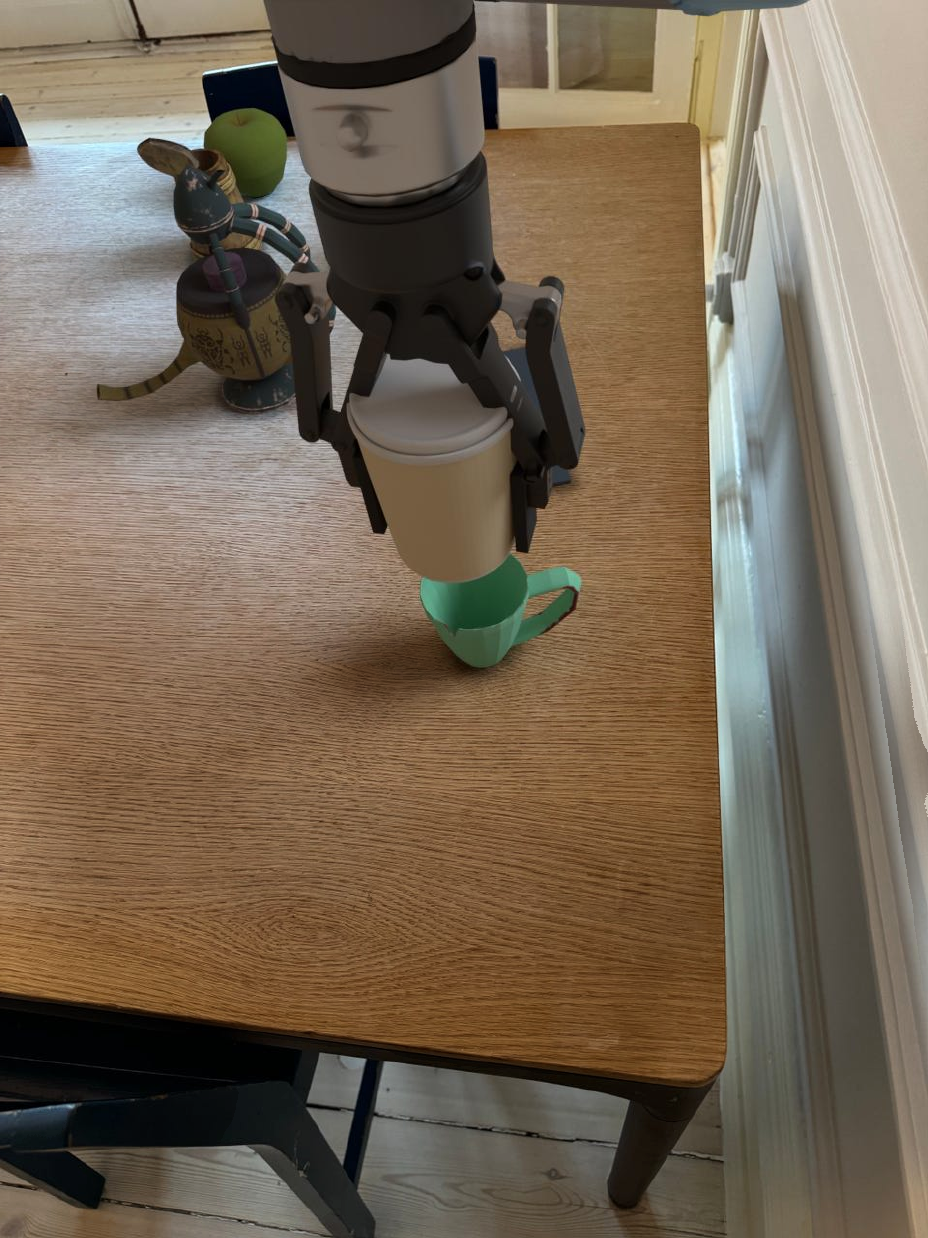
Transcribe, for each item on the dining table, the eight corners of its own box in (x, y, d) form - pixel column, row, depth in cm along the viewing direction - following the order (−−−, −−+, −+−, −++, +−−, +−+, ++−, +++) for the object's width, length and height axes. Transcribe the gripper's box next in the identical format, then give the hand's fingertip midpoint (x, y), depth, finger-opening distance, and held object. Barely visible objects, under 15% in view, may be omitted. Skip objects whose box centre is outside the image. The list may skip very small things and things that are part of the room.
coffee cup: (551, 501, 55) (548, 345, 45) (496, 612, 50) (479, 465, 41) (421, 469, 58) (392, 316, 48) (358, 572, 53) (311, 425, 43)
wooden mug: (173, 294, 103) (107, 140, 88) (205, 231, 110) (149, 80, 96) (243, 293, 101) (188, 136, 87) (270, 229, 109) (224, 75, 94)
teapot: (360, 391, 89) (305, 167, 70) (124, 469, 85) (-1, 255, 66) (329, 328, 96) (271, 108, 77) (110, 398, 92) (-8, 185, 73)
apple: (204, 200, 115) (177, 123, 107) (257, 163, 119) (235, 86, 111) (261, 219, 111) (237, 140, 102) (314, 181, 115) (295, 102, 107)
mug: (440, 698, 66) (426, 640, 60) (427, 616, 71) (412, 554, 64) (591, 670, 67) (594, 608, 60) (568, 590, 71) (568, 525, 65)
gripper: (125, 200, 35) (277, 550, 54) (645, 222, 31) (616, 597, 49) (200, 113, 39) (317, 466, 58) (669, 120, 35) (634, 502, 53)
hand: (454, 526), depth 53 cm, fingers closed on coffee cup, 8 cm apart
